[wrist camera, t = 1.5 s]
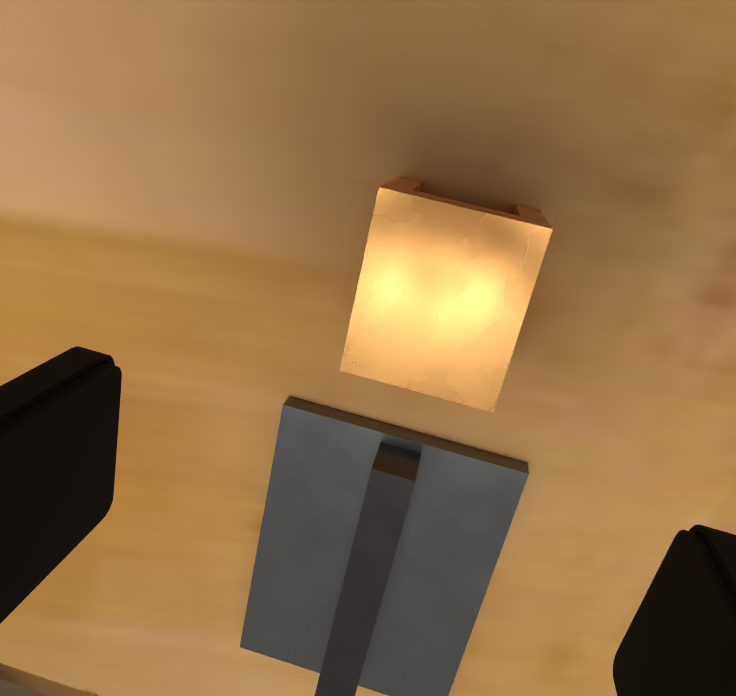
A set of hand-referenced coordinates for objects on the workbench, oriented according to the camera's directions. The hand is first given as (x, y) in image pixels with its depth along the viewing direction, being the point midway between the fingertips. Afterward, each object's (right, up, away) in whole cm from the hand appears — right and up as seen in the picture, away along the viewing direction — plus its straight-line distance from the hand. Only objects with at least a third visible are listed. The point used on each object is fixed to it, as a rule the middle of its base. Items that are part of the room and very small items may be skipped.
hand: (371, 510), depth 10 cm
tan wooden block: (+3, +6, +17) cm, 18 cm away
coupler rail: (0, -9, +23) cm, 24 cm away
